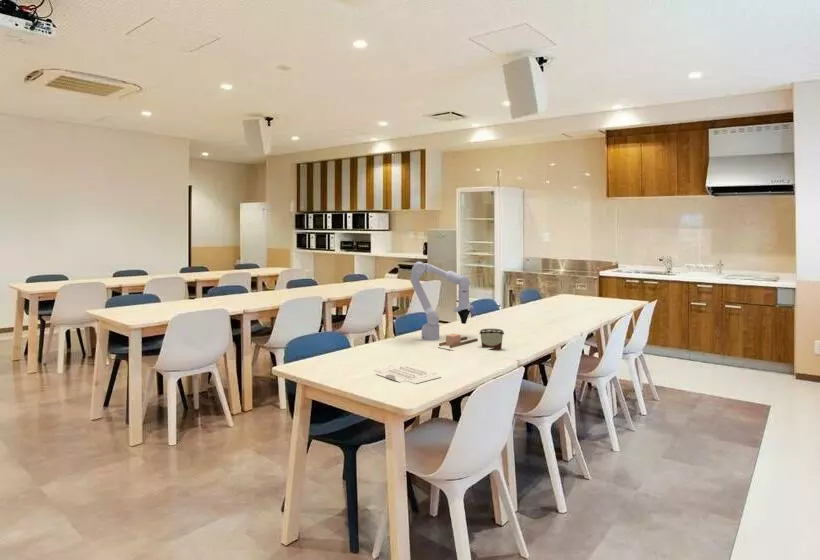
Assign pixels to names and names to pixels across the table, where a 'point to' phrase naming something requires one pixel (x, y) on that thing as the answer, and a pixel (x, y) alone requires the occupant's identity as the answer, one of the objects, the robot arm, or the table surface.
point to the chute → (458, 343)
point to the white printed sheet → (407, 373)
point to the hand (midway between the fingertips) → (463, 323)
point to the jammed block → (453, 339)
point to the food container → (491, 338)
